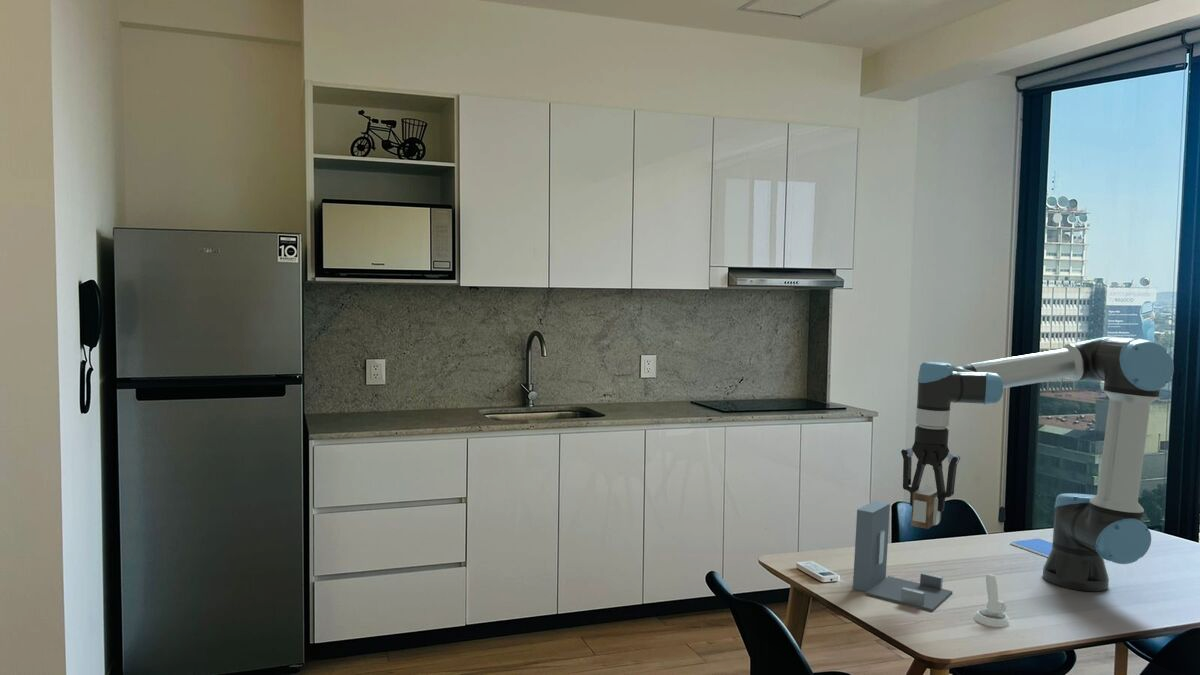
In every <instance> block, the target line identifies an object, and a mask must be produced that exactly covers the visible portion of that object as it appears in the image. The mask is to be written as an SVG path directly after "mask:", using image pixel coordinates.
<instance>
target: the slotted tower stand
mask: <svg viewBox="0 0 1200 675" xmlns="http://www.w3.org/2000/svg"><path fill="white" fill-rule="evenodd" d="M890 509H891V503H888V502H884V501H883V502H882V501H878V500H873V501H871V502H870V503H868V504H866V505H863V506H862V507H860V508H857V511H856V521H855V522H856V523H855V525H856V526H855V541H854V543H855V544H854V559H853V561H854V562H853V581H852V590H857V591H860V592H865V596H868V597H871V598H877V599H880V600H885V601H888V602H892V603H896V604H900V605H905V606H908V607H912V608H917V609H920V610H924V611H928V612H934V611H935V610H936V609H938V608H939V607H940V606H941V604H943V603H944V602H945V601H946V600H947V599H949V597H950V596H951V595H952V594H953V590H949V589H946V588H943V580H944V576H940V575H936V574H931V573H928V572H921V573H920V575H919V576H920V578H919V582H916V581H910V580H907V579H902V578H898V577H894V576H889V575H888V576H887V562H888V546H889V544H888V542H889V529H890V528H889V527H890V526H889V525H890V524H889V523H890Z"/></svg>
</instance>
